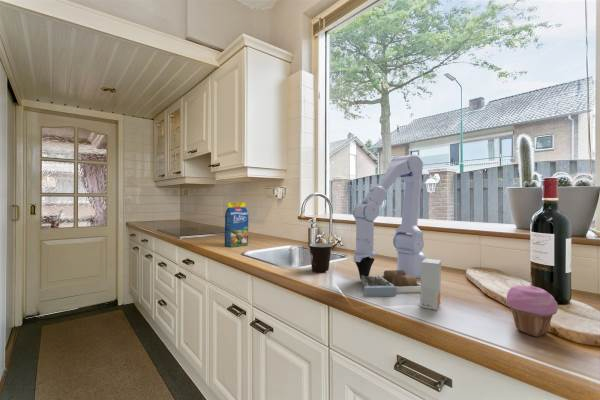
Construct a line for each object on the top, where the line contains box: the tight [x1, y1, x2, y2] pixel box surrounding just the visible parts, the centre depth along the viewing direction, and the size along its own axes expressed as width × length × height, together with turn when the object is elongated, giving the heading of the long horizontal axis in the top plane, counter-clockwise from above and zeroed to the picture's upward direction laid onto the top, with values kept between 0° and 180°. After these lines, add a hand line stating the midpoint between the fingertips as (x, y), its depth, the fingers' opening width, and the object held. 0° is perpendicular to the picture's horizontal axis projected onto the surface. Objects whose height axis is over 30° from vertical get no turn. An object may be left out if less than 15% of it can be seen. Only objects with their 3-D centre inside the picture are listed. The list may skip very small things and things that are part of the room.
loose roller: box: [392, 275, 418, 287], centre depth 93 cm, size 6×4×4 cm
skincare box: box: [419, 258, 442, 311], centre depth 80 cm, size 6×4×12 cm
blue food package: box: [224, 202, 249, 248], centre depth 174 cm, size 6×12×25 cm, turn 137°
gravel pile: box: [361, 275, 390, 287], centre depth 94 cm, size 11×8×4 cm
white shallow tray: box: [377, 275, 421, 294], centre depth 96 cm, size 10×13×2 cm
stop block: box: [363, 285, 397, 298], centre depth 87 cm, size 9×2×3 cm, turn 97°
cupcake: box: [506, 285, 559, 337], centre depth 65 cm, size 9×9×10 cm
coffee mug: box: [309, 243, 333, 274], centre depth 118 cm, size 12×9×10 cm
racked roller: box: [383, 269, 406, 283], centre depth 100 cm, size 6×4×4 cm, turn 97°
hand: (364, 279), depth 100 cm, fingers closed
